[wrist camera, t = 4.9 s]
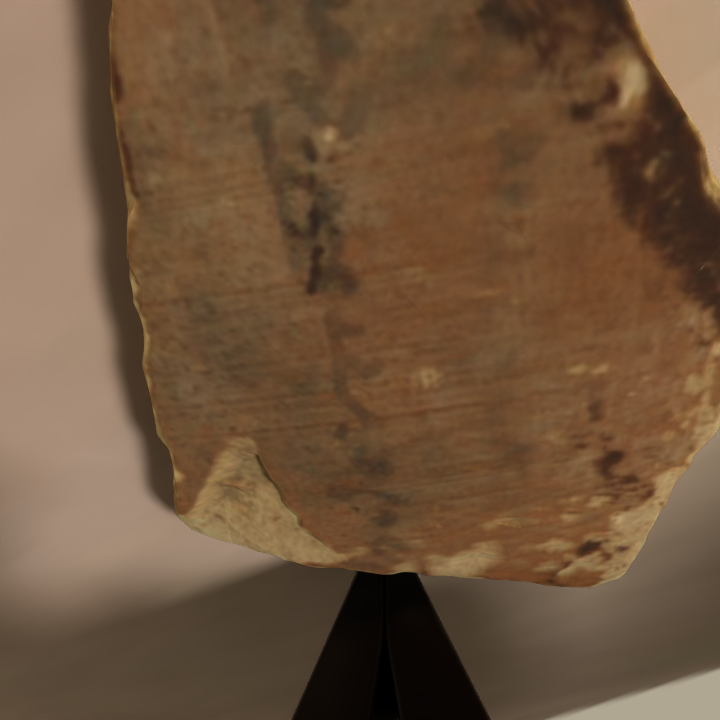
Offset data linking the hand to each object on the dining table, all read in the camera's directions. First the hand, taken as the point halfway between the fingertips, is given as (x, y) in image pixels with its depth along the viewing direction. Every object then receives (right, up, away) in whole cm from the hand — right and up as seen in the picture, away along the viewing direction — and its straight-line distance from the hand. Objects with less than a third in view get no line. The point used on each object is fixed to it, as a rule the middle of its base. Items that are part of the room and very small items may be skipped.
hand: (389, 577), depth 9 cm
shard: (-1, +5, -2) cm, 5 cm away
